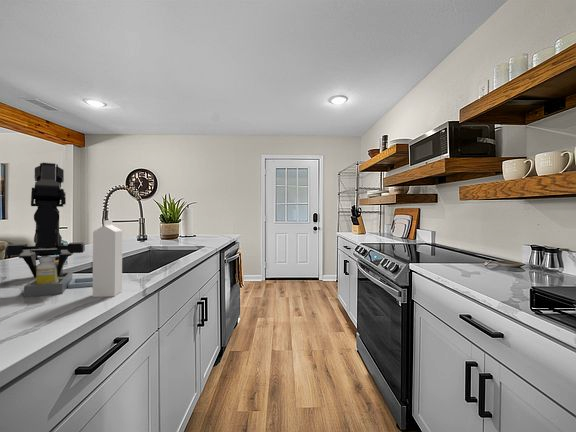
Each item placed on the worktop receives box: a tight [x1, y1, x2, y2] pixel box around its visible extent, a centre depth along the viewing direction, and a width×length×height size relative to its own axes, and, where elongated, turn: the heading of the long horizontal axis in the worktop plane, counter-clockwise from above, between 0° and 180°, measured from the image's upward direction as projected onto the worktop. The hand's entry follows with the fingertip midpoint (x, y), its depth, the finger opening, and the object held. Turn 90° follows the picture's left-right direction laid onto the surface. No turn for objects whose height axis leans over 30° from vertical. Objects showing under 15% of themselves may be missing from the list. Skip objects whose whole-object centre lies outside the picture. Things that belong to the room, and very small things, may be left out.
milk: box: [92, 219, 123, 298], centre depth 95 cm, size 6×6×22 cm
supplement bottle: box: [36, 255, 59, 285], centre depth 97 cm, size 5×5×10 cm
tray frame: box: [67, 276, 93, 289], centre depth 108 cm, size 10×10×1 cm
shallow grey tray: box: [23, 260, 73, 298], centre depth 101 cm, size 20×9×8 cm, turn 27°
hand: (47, 276), depth 97 cm, fingers closed on supplement bottle, 5 cm apart
